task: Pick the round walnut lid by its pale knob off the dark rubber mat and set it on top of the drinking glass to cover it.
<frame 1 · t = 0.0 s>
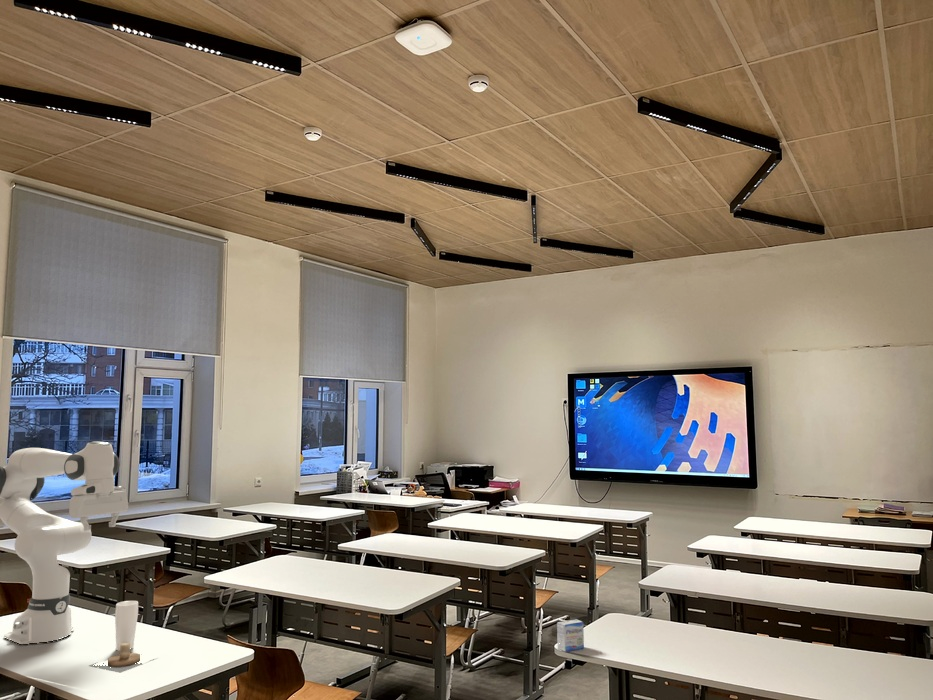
hand: (100, 528, 230), 39 cm above the table, tool pointing down, fingers open, 8 cm apart
drinking glass: (124, 650, 222), on the table
medicine box: (570, 649, 223), on the table
lid: (124, 661, 209), resting on mat
mat: (124, 663, 209), on the table
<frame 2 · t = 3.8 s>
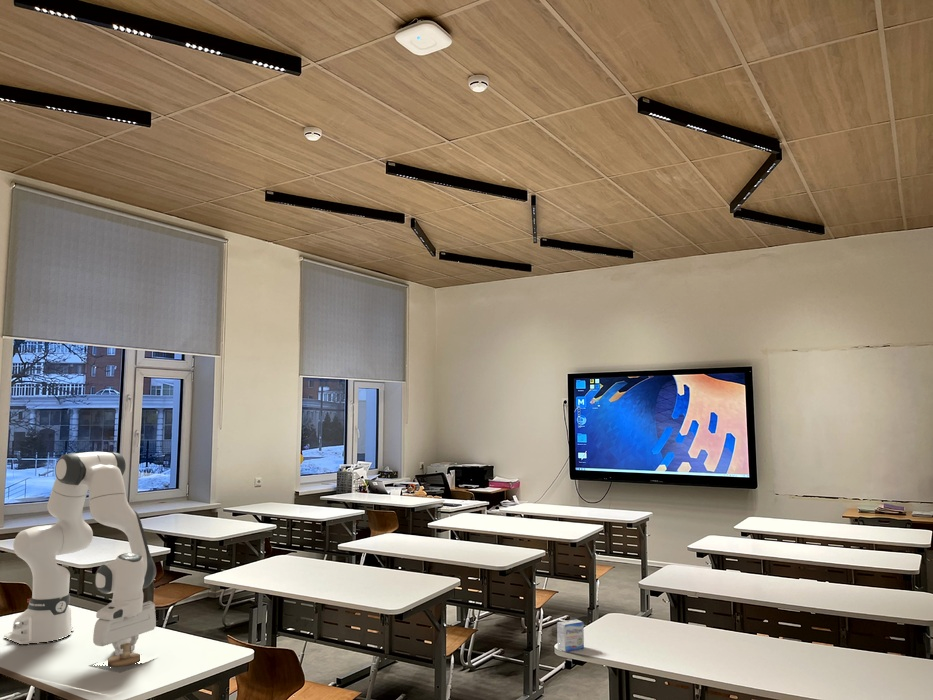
hand: (124, 652, 210), 3 cm above the table, tool pointing down, fingers closed on lid, 3 cm apart
lid: (124, 661, 209), resting on mat, touching gripper
everything else where it was.
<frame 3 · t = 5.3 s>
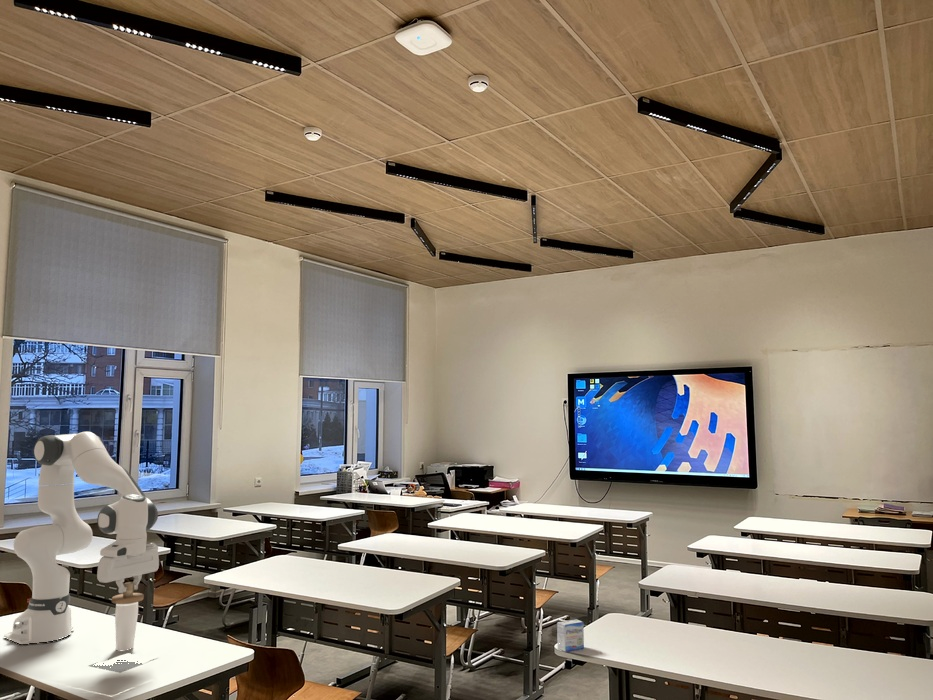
hand: (128, 591, 212), 22 cm above the table, tool pointing down, fingers closed on lid, 3 cm apart
lid: (127, 600, 211), point 19 cm above the table, touching gripper
everything else where it was.
when the fingers open (19 cm above the table, at t = 7.1 s): lid drops 2 cm, resting on drinking glass.
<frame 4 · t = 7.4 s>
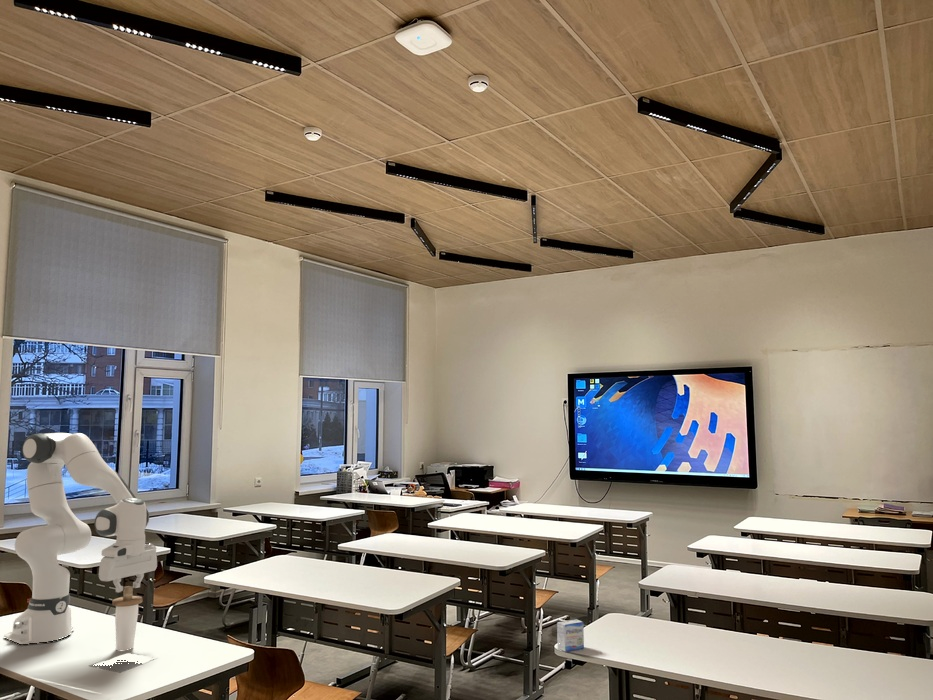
hand: (128, 589, 224), 19 cm above the table, tool pointing down, fingers open, 5 cm apart
drinking glass: (124, 650, 222), on the table, touching lid
lid: (127, 603, 224), point 15 cm above the table, touching drinking glass
everything else where it was.
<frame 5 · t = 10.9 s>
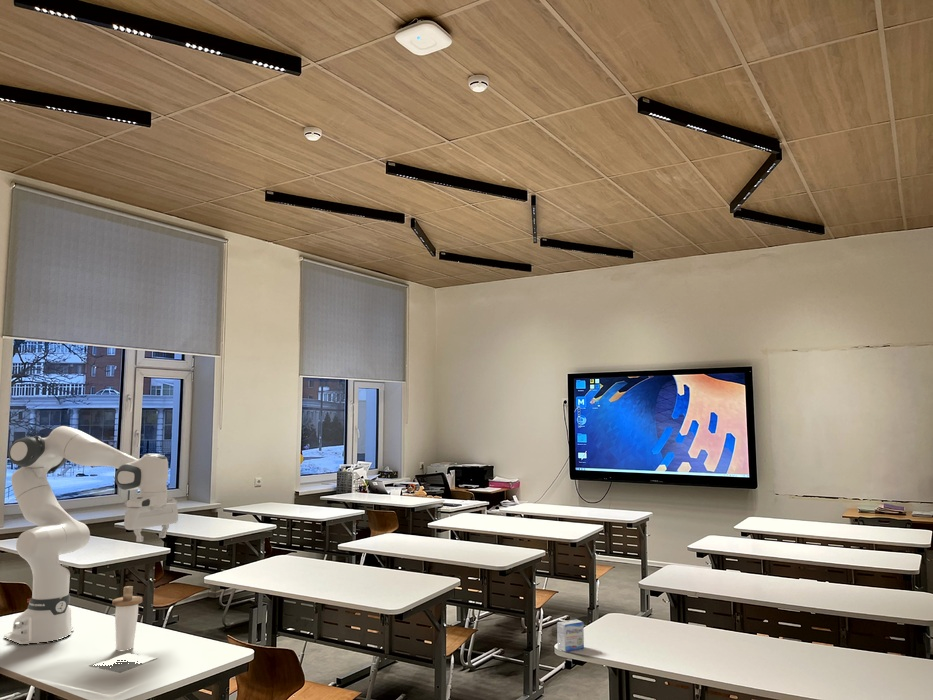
hand: (151, 539, 236), 34 cm above the table, tool pointing down, fingers open, 8 cm apart
nothing on the table moved.
at the end: lid 0.0 cm from the drinking glass (horizontally); lid point 15.0 cm above the table; lid tilted 0° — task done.
